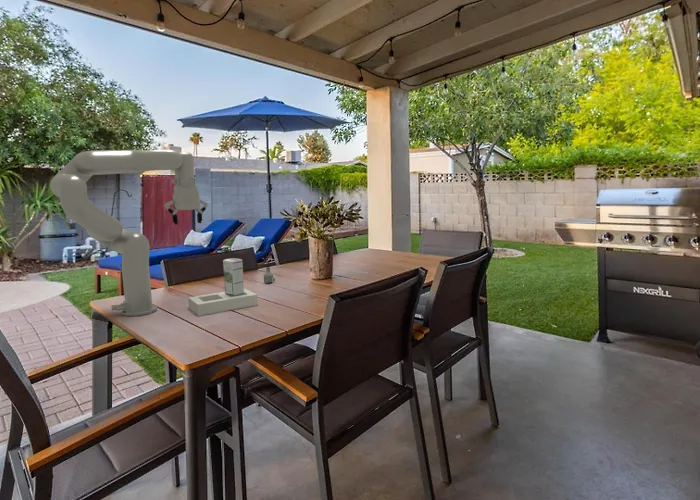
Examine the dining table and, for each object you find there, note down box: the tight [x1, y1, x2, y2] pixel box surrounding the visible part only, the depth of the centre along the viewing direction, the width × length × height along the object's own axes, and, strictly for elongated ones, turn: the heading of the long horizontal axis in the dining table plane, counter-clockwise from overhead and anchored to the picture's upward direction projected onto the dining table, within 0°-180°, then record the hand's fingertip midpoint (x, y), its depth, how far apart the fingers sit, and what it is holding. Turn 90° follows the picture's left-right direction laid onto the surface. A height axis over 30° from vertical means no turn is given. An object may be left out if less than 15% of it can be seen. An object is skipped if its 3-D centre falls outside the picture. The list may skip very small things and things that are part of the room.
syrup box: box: [222, 257, 245, 295], centre depth 171 cm, size 6×6×14 cm
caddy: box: [187, 288, 258, 317], centre depth 170 cm, size 24×13×5 cm, turn 126°
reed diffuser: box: [259, 243, 276, 283], centre depth 211 cm, size 10×7×20 cm
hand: (187, 223), depth 176 cm, fingers open, 9 cm apart
